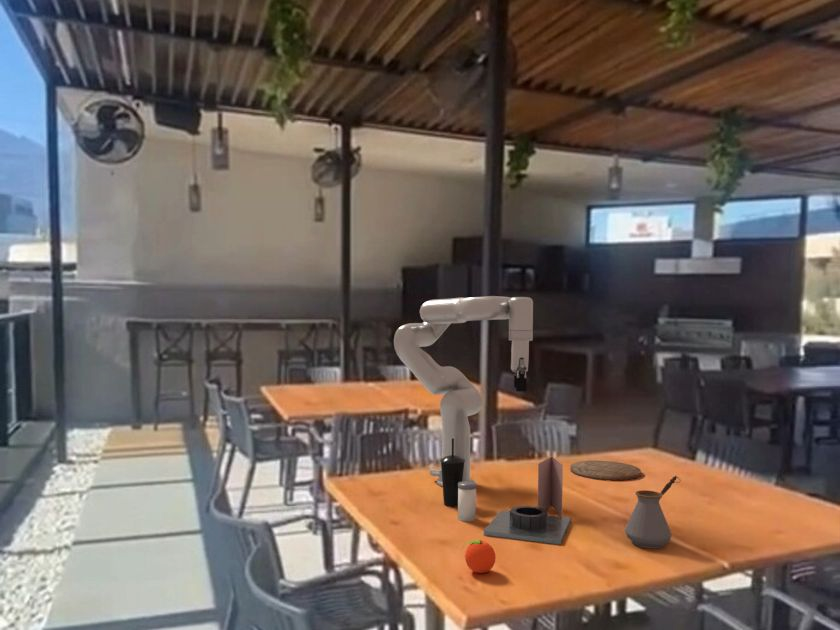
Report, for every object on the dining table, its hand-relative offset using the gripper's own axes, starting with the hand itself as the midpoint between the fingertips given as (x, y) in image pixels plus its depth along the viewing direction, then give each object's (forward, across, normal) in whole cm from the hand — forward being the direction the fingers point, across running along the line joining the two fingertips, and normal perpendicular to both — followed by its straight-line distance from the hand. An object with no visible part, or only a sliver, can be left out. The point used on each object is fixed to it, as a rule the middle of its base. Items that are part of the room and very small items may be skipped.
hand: (520, 389), depth 223 cm
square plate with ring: (+34, +34, 0) cm, 48 cm away
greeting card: (+34, +17, +9) cm, 39 cm away
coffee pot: (+34, +38, +33) cm, 61 cm away
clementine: (+34, +66, -14) cm, 76 cm away
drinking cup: (+34, +13, -21) cm, 42 cm away
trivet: (+34, -35, +34) cm, 60 cm away
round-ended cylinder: (+34, +27, -17) cm, 46 cm away
